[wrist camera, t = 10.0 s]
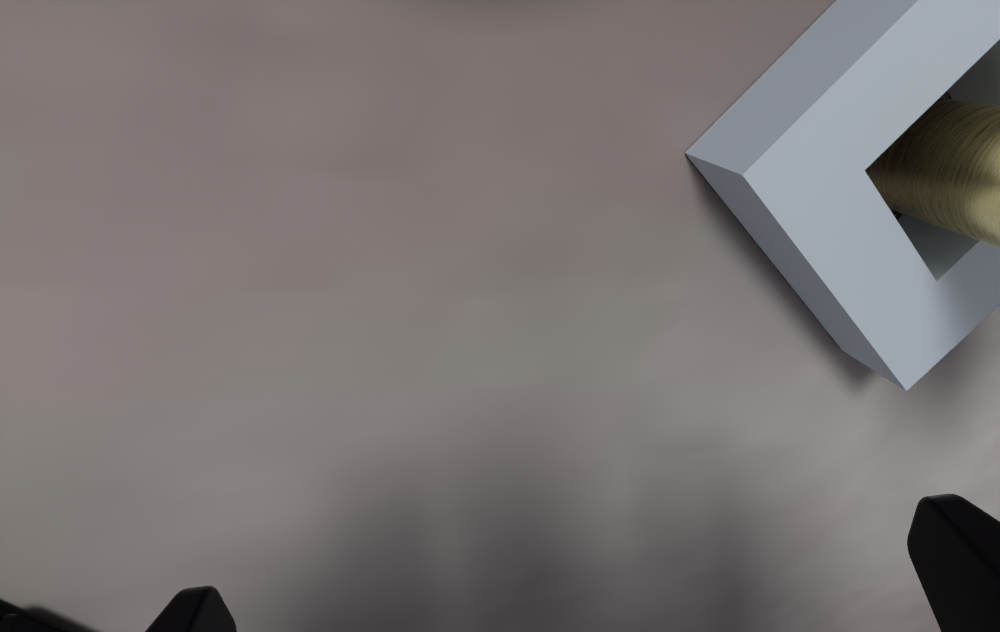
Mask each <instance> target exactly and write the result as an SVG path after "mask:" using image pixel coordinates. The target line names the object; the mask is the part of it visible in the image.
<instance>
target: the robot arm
mask: <svg viewBox="0 0 1000 632" xmlns="http://www.w3.org/2000/svg"><path fill="white" fill-rule="evenodd" d="M907 546H908V552H909V555H910V558H911V561H912V563H913V565H914V568H915V570H916V573H917V575H918V577H919V580H920V582H921V584H922V587H923V589H924V592H925V594H926V596H927V599H928V601H929V603H930V606H931V608H932V611H933V613H934V615H935V618H936V620H937V622H938V625H939V627H940V630H941V632H1000V521H998V520H996V519H995V518H993V517H992V516H990V515H989V514H987V513H986V512H984V511H983V510H981V509H980V508H978V507H977V506H975V505H974V504H972V503H971V502H969V501H967V500H966V499H964V498H963V497H961V496H958V495H955V494H943V495H935V496H927V497H923V498H922V499H921V500H920V501H919V502H918V505H917V508H916V511H915V515H914V518H913V521H912V524H911V528H910V531H909V534H908V539H907ZM0 632H64V631H62V630H60V629H57V628H55V627H53V626H50V625H48V624H46V623H43V622H41V621H38V620H36V619H34V618H31V617H29V616H27V615H24V614H22V613H20V612H17V611H15V610H13V609H10V608H8V607H6V606H3V605H1V604H0ZM145 632H237V630H236V625H235V621H234V619H233V617H232V616H231V614H230V612H229V610H228V608H227V606H226V605H225V603H224V601H223V599H222V597H221V596H220V594H219V592H218V590H217V589H216V588H214V587H212V586H203V587H195V588H187V589H184V590H182V591H180V592H179V593H178V594H176V595H175V596H174V598H173V599H172V600H171V601H170V602H169V604H168V605H167V606H166V607H165V608H164V610H163V611H162V612H161V613H160V614H159V616H158V617H157V618H156V619H155V620H154V622H153V623H152V624H151V625H150V626H149V628H148V629H147V630H146V631H145Z"/></svg>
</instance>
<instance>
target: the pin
mask: <svg viewBox="0 0 1000 632" xmlns="http://www.w3.org/2000/svg"><path fill="white" fill-rule="evenodd" d="M865 172H866V173H867V175H868V176H869V178H870V180H871V181H872V183H873V184H874V186H875V187H876V189H877V190H878V192H879V193H880V195H881V197H882V198H883V200H884V201H885V203H886V204H887V206H888V207H889V209H891V210H894V211H897V212H900V213H902V214H905V215H908V216H911V217H914V218H917V219H920V220H923V221H925V222H928V223H931V224H934V225H937V226H940V227H943V228H946V229H948V230H951V231H954V232H957V233H960V234H963V235H966V236H968V237H971V238H974V239H977V240H980V241H983V242H986V243H989V244H991V245H994V246H997V247H1000V106H994V105H987V104H980V103H974V102H967V101H960V100H954V99H947V98H941V97H940V98H939V99H938V100H937V101H936V102H935V103H933V104H932V105H931V106H930V107H929V108H928V109H927V110H926V111H925V112H924V113H923V114H922V115H921V116H920V117H919V118H918V119H917V120H916V121H915V122H914V123H913V124H912V125H911V126H910V127H909V128H908V129H907V130H906V131H905V132H904V133H903V134H902V135H901V136H900V137H899V138H897V139H896V140H895V141H894V142H893V143H892V144H891V145H890V146H889V147H888V148H887V149H886V150H885V151H884V152H883V153H882V154H881V155H880V156H879V157H878V158H877V159H876V160H875V161H874V162H873V163H872V164H871V165H870V166H869V167H868V168H867V169H866V170H865Z"/></svg>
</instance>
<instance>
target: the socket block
mask: <svg viewBox="0 0 1000 632" xmlns="http://www.w3.org/2000/svg"><path fill="white" fill-rule="evenodd" d="M946 91H948V93H949V95H950V97H951V99H954V100H960V101H967V102H974V103H980V104H987V105H994V106H1000V0H836V1H835V2H834V3H833V4H832V5H831V6H830V7H829V8H828V9H827V10H826V11H825V12H824V13H823V14H822V15H821V16H820V17H819V18H818V19H817V20H816V21H815V22H814V23H813V24H812V25H811V26H810V27H809V28H808V29H807V30H806V31H805V32H804V33H803V34H802V35H801V36H800V37H799V38H798V39H797V40H796V41H795V43H794V44H793V45H792V46H791V47H790V48H789V49H788V50H787V51H786V52H785V53H784V54H783V55H782V56H781V57H780V58H779V59H778V60H777V61H776V62H775V63H774V64H773V65H772V66H771V67H770V68H769V69H768V70H767V71H766V72H765V73H764V74H763V75H762V76H761V77H760V78H759V79H758V80H757V81H756V82H755V83H754V84H753V85H752V86H751V87H750V88H749V89H748V90H747V91H746V92H745V93H744V94H743V95H742V96H741V97H740V98H739V99H738V100H737V101H736V102H735V103H734V104H733V105H732V106H731V107H730V108H729V109H728V110H727V111H726V112H725V113H724V114H723V115H722V116H721V117H720V118H719V119H718V120H717V121H716V122H715V123H714V124H713V125H712V126H711V127H710V128H709V129H708V130H707V131H706V132H705V133H704V134H703V135H702V136H701V137H700V138H699V139H698V140H697V141H696V142H695V143H694V144H693V145H692V146H691V147H690V148H689V149H688V150H687V151H686V152H685V154H686V155H687V156H688V157H689V159H690V160H691V161H692V162H693V164H694V165H695V166H696V167H697V169H698V170H699V171H700V172H701V174H702V175H703V176H704V177H705V179H706V180H707V181H708V183H709V184H710V185H711V186H712V188H713V189H714V190H715V191H716V193H717V194H718V195H719V196H720V198H721V199H722V200H723V201H724V203H725V204H726V205H727V206H728V208H729V209H730V210H731V211H732V213H733V214H734V215H735V216H736V218H737V219H738V220H739V221H740V223H741V224H742V225H743V226H744V228H745V229H746V230H747V231H748V233H749V234H750V235H751V236H752V238H753V239H754V240H755V242H756V243H757V244H758V245H759V247H760V248H761V249H762V250H763V252H764V253H765V254H766V255H767V257H768V258H769V259H770V260H771V262H772V263H773V264H774V265H775V267H776V268H777V269H778V270H779V272H780V273H781V274H782V275H783V277H784V278H785V279H786V280H787V282H788V283H789V284H790V285H791V287H792V288H793V289H794V290H795V292H796V293H797V294H798V296H799V297H800V298H801V299H802V301H803V302H804V303H805V304H806V306H807V307H808V308H809V309H810V311H811V312H812V313H813V314H814V316H815V317H816V318H817V319H818V321H819V322H820V323H821V324H822V326H823V327H824V328H825V329H826V331H827V332H828V333H829V334H830V336H831V337H832V338H833V339H834V341H835V342H836V343H837V344H838V346H839V347H840V348H841V349H842V351H844V352H845V353H847V354H849V355H850V356H852V357H853V358H855V359H856V360H858V361H860V362H861V363H863V364H864V365H866V366H868V367H869V368H871V369H872V370H874V371H875V372H877V373H879V374H880V375H882V376H883V377H885V378H887V379H888V380H890V381H891V382H893V383H894V384H896V385H898V386H899V387H901V388H902V389H904V390H906V391H907V390H908V389H909V388H911V387H912V386H913V385H914V384H915V383H916V382H917V381H918V380H919V379H920V378H921V377H922V376H924V375H925V374H926V373H927V372H928V371H929V370H930V369H931V368H932V367H933V366H934V365H935V364H936V363H938V362H939V361H940V360H941V359H942V358H943V357H944V356H945V355H946V354H947V353H948V352H949V351H951V350H952V349H953V348H954V347H955V346H956V345H957V344H958V343H959V342H960V341H961V340H962V339H964V338H965V337H966V336H967V335H968V334H969V333H970V332H971V331H972V330H973V329H974V328H975V327H977V326H978V325H979V324H980V323H981V322H982V321H983V320H984V319H985V318H986V317H987V316H988V315H989V314H991V313H992V312H993V311H994V310H995V309H996V308H997V307H998V306H999V305H1000V247H997V246H994V245H991V244H989V243H986V242H983V241H980V240H977V239H974V238H971V237H968V236H966V235H963V234H960V233H957V232H954V231H951V230H948V229H946V228H943V227H940V226H937V225H934V224H931V223H928V222H925V221H923V220H920V219H917V218H914V217H911V216H908V215H905V214H903V215H902V216H901V217H900V218H899V219H898V220H896V218H895V217H894V215H893V214H892V212H891V210H890V209H889V207H888V206H887V204H886V203H885V201H884V200H883V198H882V197H881V195H880V193H879V192H878V190H877V189H876V187H875V186H874V184H873V183H872V181H871V180H870V178H869V176H868V175H867V173H866V172H865V170H866V169H867V168H868V167H869V166H870V165H871V164H872V163H873V162H874V161H875V160H876V159H877V158H878V157H879V156H880V155H881V154H882V153H883V152H884V151H885V150H886V149H887V148H888V147H889V146H890V145H891V144H892V143H893V142H894V141H895V140H896V139H897V138H899V137H900V136H901V135H902V134H903V133H904V132H905V131H906V130H907V129H908V128H909V127H910V126H911V125H912V124H913V123H914V122H915V121H916V120H917V119H918V118H919V117H920V116H921V115H922V114H923V113H924V112H925V111H926V110H927V109H928V108H929V107H930V106H931V105H932V104H933V103H935V102H936V101H937V100H938V99H939V98H940V97H941V96H942V95H943V94H944V93H945V92H946Z"/></svg>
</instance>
